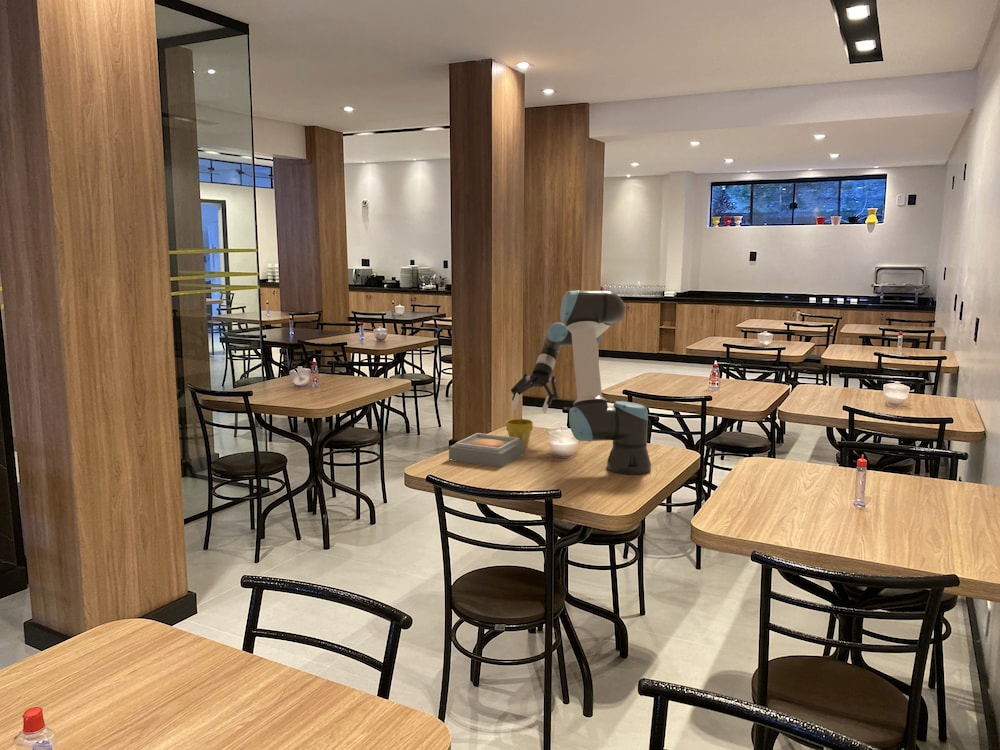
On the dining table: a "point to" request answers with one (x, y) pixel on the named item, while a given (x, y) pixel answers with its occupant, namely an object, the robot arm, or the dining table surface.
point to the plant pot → (520, 429)
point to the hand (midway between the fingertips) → (528, 409)
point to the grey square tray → (487, 449)
